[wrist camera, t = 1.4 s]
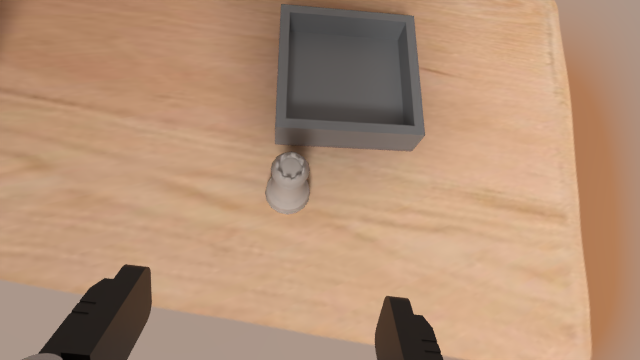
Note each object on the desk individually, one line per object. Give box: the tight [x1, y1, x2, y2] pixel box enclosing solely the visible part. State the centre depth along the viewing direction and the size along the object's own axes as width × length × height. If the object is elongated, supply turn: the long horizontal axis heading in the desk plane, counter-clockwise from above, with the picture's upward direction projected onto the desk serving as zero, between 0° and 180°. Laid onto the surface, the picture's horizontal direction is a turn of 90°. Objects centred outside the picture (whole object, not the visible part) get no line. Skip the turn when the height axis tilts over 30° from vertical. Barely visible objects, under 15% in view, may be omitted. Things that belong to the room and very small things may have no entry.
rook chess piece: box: [265, 152, 310, 214], centre depth 36 cm, size 4×4×8 cm
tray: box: [275, 4, 425, 151], centre depth 43 cm, size 15×15×4 cm
